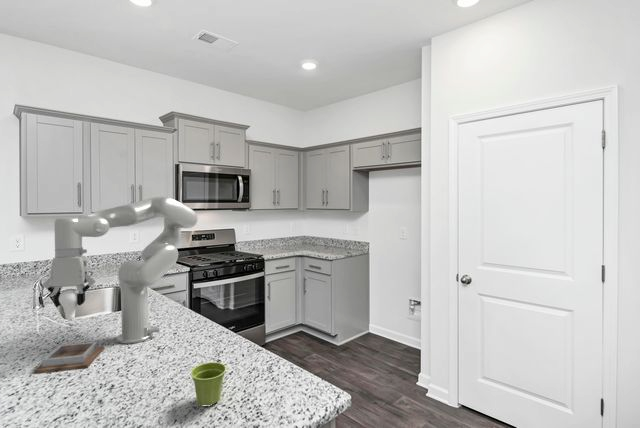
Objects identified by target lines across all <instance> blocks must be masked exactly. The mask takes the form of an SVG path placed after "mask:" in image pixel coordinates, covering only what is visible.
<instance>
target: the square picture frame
mask: <svg viewBox="0 0 640 428" xmlns="http://www.w3.org/2000/svg"><path fill="white" fill-rule="evenodd" d="M98 347H99V341H88V342H81V343H71V344H60V345H58V346H57V347H55V349H54V350H53V351H51V352H50V353H49V354H48V355H46V356H45V357H44V358H42V360H41V364H42V368H45V367H54V366H64V365H73V364H83V363H85V362H86V361H87V360H88V359H89V358H90V357H91V355H92V354H93V353H94V352H95V351H96V350H97V349H98ZM76 351H85V352H84V353H83V354H82V355H78V356H68V357H58V356H59V355H60V354H62V353H66V352H76Z"/></svg>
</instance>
